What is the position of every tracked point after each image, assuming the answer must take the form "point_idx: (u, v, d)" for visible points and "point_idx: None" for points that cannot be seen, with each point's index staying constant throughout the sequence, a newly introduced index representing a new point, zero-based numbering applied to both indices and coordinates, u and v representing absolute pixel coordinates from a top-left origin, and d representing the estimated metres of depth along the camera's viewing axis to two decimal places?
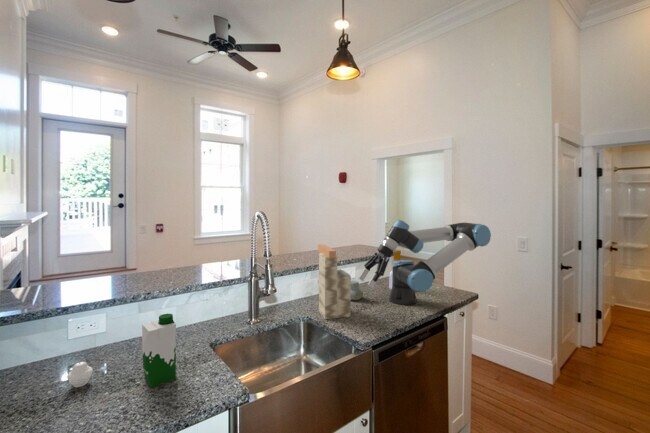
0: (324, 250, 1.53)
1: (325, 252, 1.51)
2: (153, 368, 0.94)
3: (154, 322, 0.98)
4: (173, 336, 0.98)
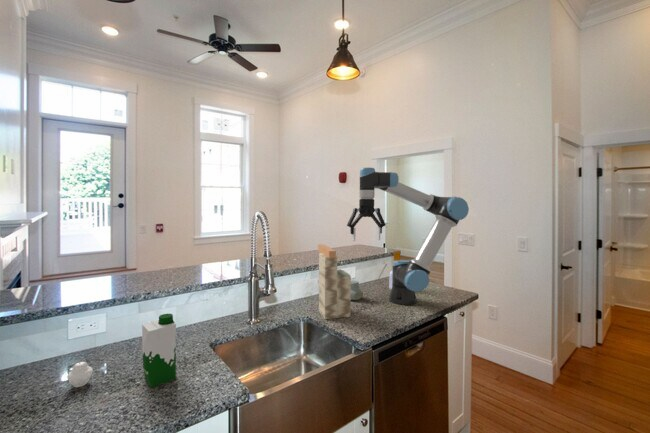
0: (324, 250, 1.53)
1: (325, 252, 1.51)
2: (153, 368, 0.94)
3: (154, 322, 0.98)
4: (173, 336, 0.98)
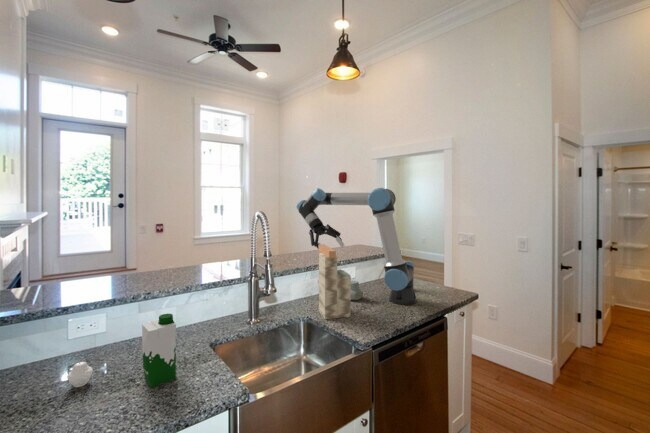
0: (324, 250, 1.53)
1: (325, 252, 1.51)
2: (153, 368, 0.94)
3: (154, 322, 0.98)
4: (173, 336, 0.98)
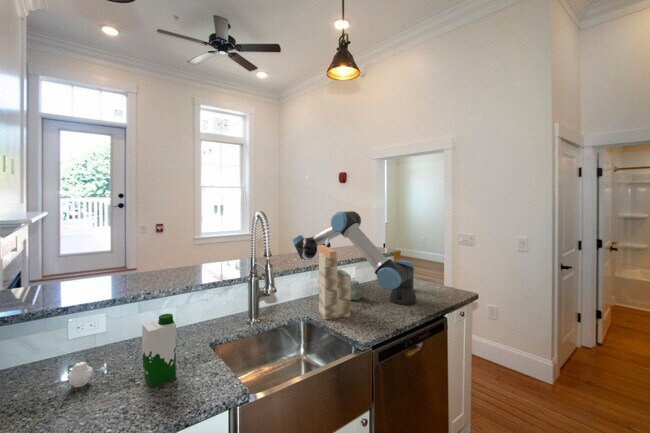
0: (324, 251, 1.52)
1: (325, 253, 1.50)
2: (153, 368, 0.94)
3: (154, 322, 0.98)
4: (173, 336, 0.98)
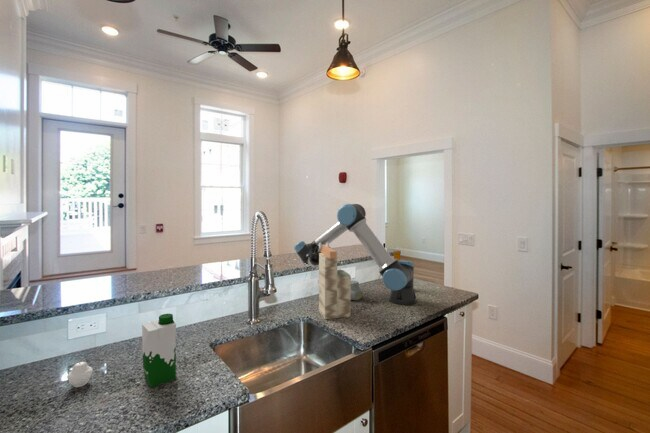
0: (325, 250, 1.52)
1: (326, 252, 1.50)
2: (153, 368, 0.94)
3: (154, 322, 0.98)
4: (173, 336, 0.98)
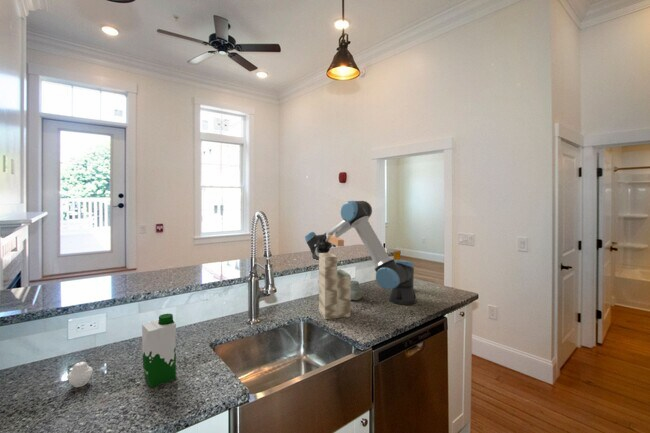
0: (332, 240, 1.63)
1: (333, 241, 1.61)
2: (153, 368, 0.94)
3: (154, 322, 0.98)
4: (173, 336, 0.98)
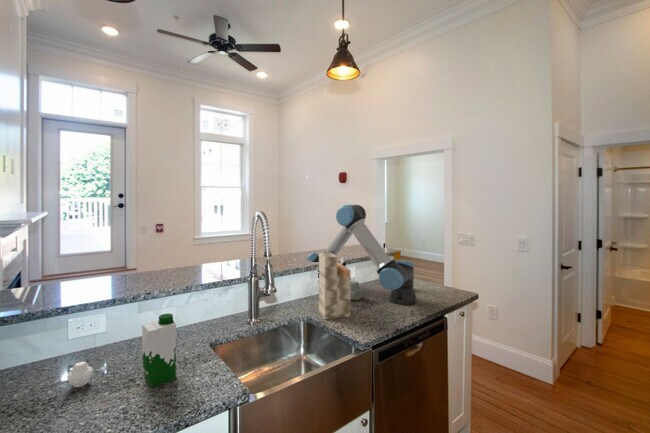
0: (338, 268, 1.55)
1: (339, 271, 1.53)
2: (153, 368, 0.94)
3: (154, 322, 0.98)
4: (173, 336, 0.98)
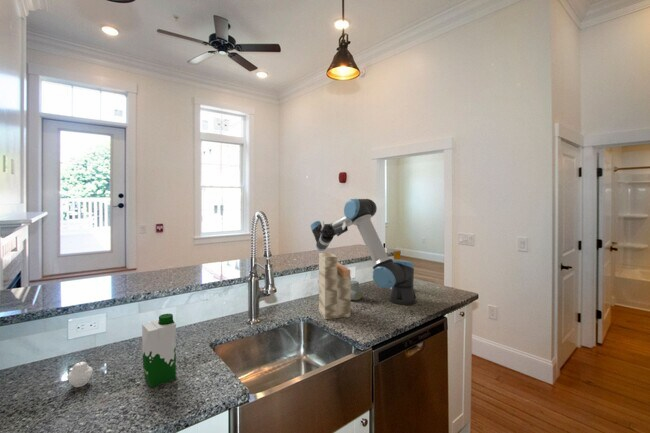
0: (338, 268, 1.55)
1: (339, 271, 1.53)
2: (153, 368, 0.94)
3: (154, 322, 0.98)
4: (173, 336, 0.98)
